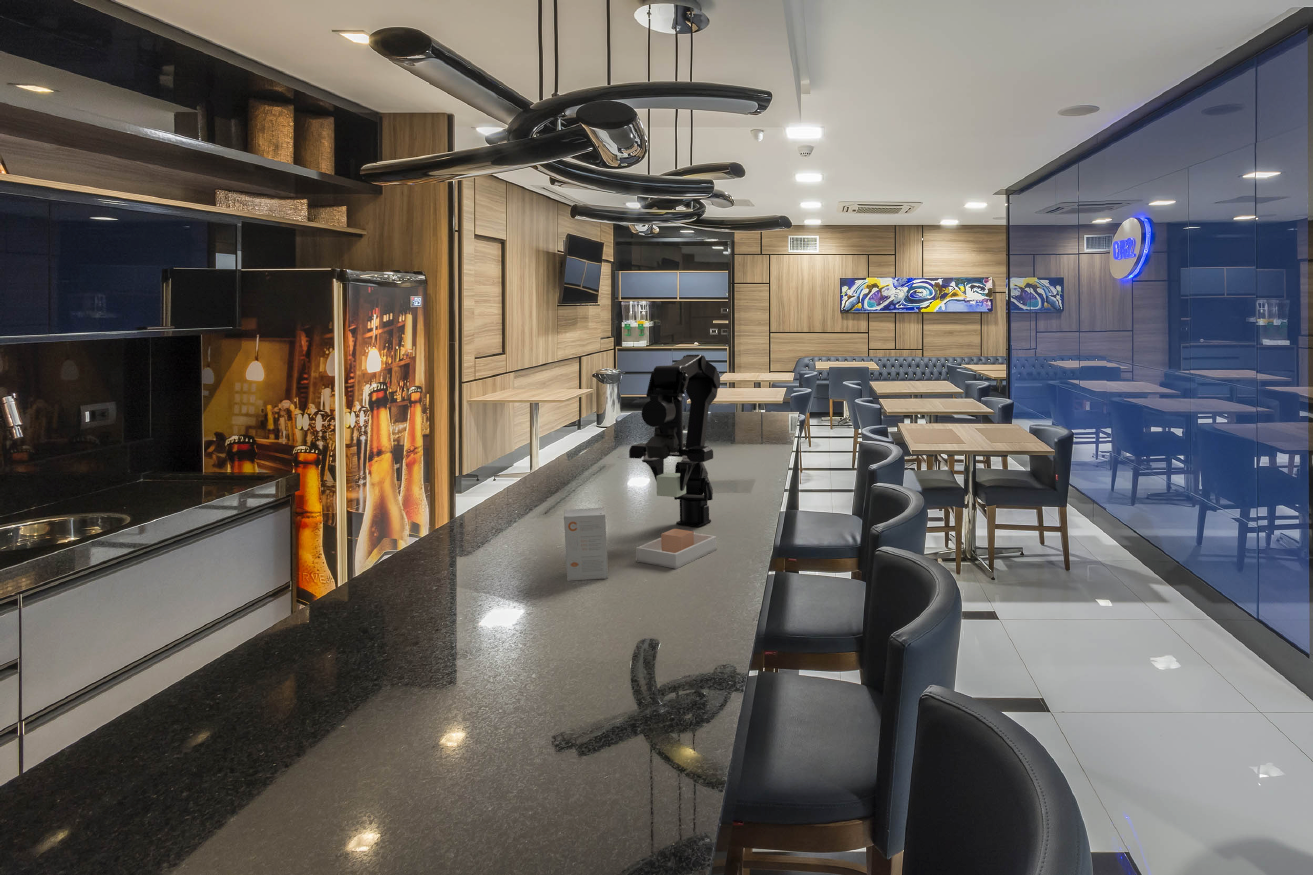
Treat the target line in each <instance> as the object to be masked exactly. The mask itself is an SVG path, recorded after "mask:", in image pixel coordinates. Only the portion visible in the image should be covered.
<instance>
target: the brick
mask: <svg viewBox="0 0 1313 875" xmlns="http://www.w3.org/2000/svg"><path fill="white" fill-rule="evenodd" d="M694 533H695V532H694V531H691V530H687V529H679V528H672V529H670V530H667V531H665V532H663V533H660V538H661V547H662V551H665V552H671V553H677V552H679V551H681V550H684V549H686V548H688V547H691V546H693V545H694Z"/></svg>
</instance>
